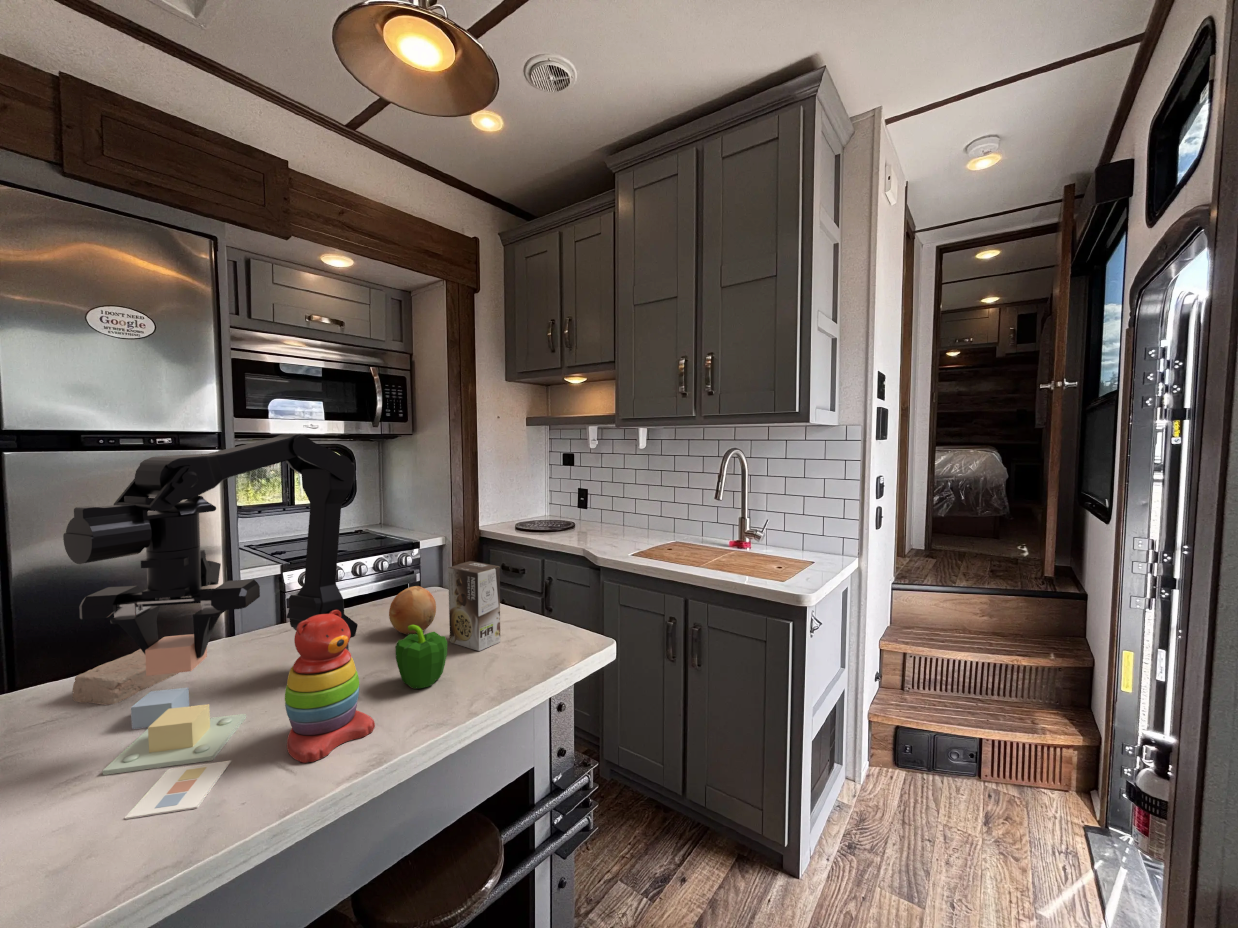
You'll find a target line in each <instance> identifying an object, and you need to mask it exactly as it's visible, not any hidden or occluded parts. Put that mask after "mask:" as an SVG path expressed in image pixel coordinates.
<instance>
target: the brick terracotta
mask: <svg viewBox="0 0 1238 928" xmlns="http://www.w3.org/2000/svg"><path fill="white" fill-rule="evenodd" d="M145 657H146V676H151V675H161V674H170V673H178V674H179V673H187V672H189V673H190V672H192V671H193V670H194V669H195V668H197V667H198V666H199V664H201V663H202V662H203V661H204V660H205V659H206V658H207V657H208V647H207V648H206V650H205V653H204V655H203V656H202V657H201V658H197V656H196V652H195V644H194V633H193V634H191V633H190V634H179V635H170V636H164V637H162V638H161V639H158V642H156V643H155V644H153V645H152V646H151V647H149V648H148V649H146V650H145Z"/></svg>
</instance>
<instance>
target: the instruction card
mask: <svg viewBox="0 0 1238 928" xmlns="http://www.w3.org/2000/svg"><path fill="white" fill-rule="evenodd" d="M231 763H232V760H225V761H218V762H217V761H216V762H209V763H204V764H203V763H200V764H195V765H188V766H180V767H173V768H168V769H167V770H166V771H165V772H164V773H163V774H162V776H160V778H159V779H158V780H157V781H156V782H155V783H154V785H152V786H151V788H150V789H149V790H148V791H147V793H145V795H143V797H142V798H140V800H139V801H138V802H137V804H135V806H134V807H133V808H132V809H131V810H130V811H129V812H128V813H127V814H126V815H125V817H124V820H131V819H137V818H142V817H150V816H155V815H162V814H163V815H164V814H168V813H174V812H175V813H176V812H182V811H187V810H194V809H199V806H200V805H201V804H202V803H203V801H204V800H205V799H206V798H207V796H208V795H209V793H210V791H211V790H212V789H213V787H214V786H215V784H216V783H217V782H218V781H219V779H220V778H221V777H222V775H223V773H224V772H226V769H227V768H228V767H229V765H230V764H231Z"/></svg>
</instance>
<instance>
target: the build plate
mask: <svg viewBox="0 0 1238 928" xmlns="http://www.w3.org/2000/svg"><path fill="white" fill-rule="evenodd" d="M210 712H211V711H210V703H209V704H199V705H191V706H190V705H189V707H180V708H171V709H168V710H167V711H165V712H164V713H163V714H162V715H161V716H160V717H159V718H158V719H157V720H156V721H155V722H153V723H152V724H151V725H150V726H149V727H147V729H146V730H145V731H144V732H142V734H140V736H138V737H137V738H136V739H135V740H134V741H133V742H132V743H131V744H129V746H128V747H127V748H126V749H124V750H123V751H122V752H121V753H120V754H119V755H118V756H117V757H116V758H115V759H114V760H112V761H111V762H110V763H109V764H108V765H107V766H106V767H104V769H102V776H106V775H113V774H115V775H116V774H122V773H129V772H130V773H131V772H137V771H143V770H153V769H158V768H166V767H167V768H168V767H173V766H174V767H175V766H181V765H187V764H194V763H203V762H210V761H214V760H215V758H216V757H217V755H218V754H219V753H220V752H221V751H222V749H223V748H224V747H225V745H227V743H228V741H229V740H230V739H231V738H232V736H233V735H234V734H235V732H236V731H237V730H238V729H239V727H240V726H241V725H242V724H243V722H244V721H245V720H246V718H247V713H240V714H232V715H223V716H216V717H215V716H213V717H211V715H210V714H211V713H210Z"/></svg>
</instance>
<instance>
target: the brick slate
mask: <svg viewBox="0 0 1238 928" xmlns="http://www.w3.org/2000/svg"><path fill="white" fill-rule="evenodd" d="M189 689H190V687H181V688H180V687H179V688H172V689H171V688H169V689H161V690H160V689H159V690H151V691H149V692H148V693H147V694H146V695H144V696H143V697H142V698H141V699H139V700H138V701H137V702H136V703H134V704H133V705H132V706H131V707H130V712H131V713H130V716H131V717H130V718H131V730H138V729H145V728H147V729H148V727H149V726H150V725H151V724H152V723H153V722H155V721H156V720H157V719H158V718H159V717H160V716H161V715H162V714H163V713H164V712H165V711H167V710H168V709H171V708H180V707H189V706H190V693H189V692H190V691H189Z"/></svg>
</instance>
